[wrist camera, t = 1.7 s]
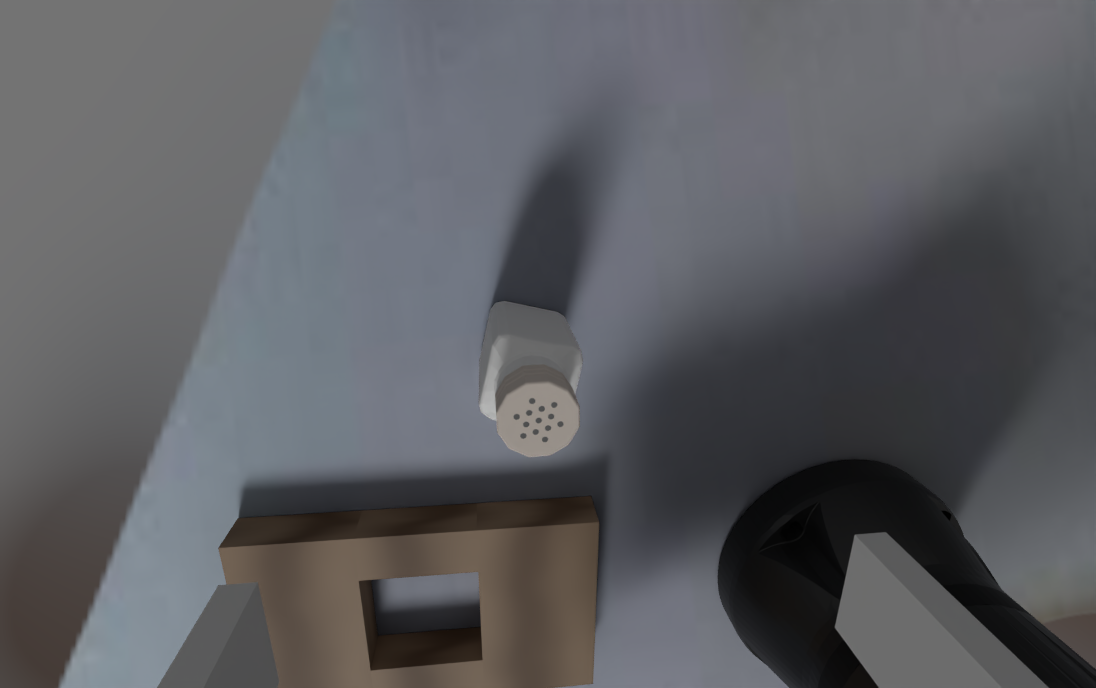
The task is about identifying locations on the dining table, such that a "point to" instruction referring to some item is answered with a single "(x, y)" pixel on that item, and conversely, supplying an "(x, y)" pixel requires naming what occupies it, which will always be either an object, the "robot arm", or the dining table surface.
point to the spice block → (421, 550)
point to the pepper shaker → (530, 378)
